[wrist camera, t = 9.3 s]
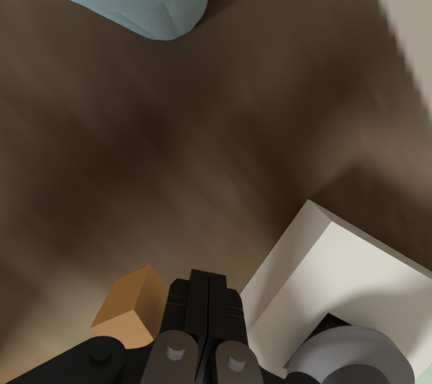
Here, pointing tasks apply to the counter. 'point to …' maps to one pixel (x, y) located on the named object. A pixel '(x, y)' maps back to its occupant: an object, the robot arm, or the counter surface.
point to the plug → (350, 355)
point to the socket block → (335, 291)
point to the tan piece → (133, 309)
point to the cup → (151, 15)
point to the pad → (425, 376)
